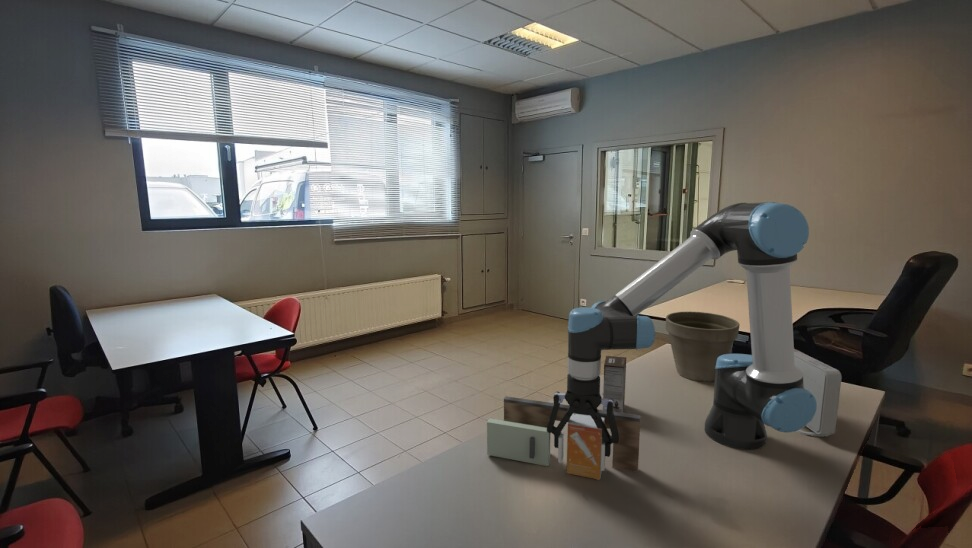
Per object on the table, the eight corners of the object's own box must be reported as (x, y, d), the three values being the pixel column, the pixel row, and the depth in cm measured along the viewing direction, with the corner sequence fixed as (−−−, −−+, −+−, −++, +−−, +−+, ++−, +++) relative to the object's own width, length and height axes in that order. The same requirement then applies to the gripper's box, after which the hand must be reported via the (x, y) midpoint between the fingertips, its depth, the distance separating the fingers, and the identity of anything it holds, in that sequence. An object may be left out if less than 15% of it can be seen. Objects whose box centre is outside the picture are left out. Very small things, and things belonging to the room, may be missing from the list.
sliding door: (550, 461, 112) (550, 428, 110) (547, 469, 109) (547, 434, 107) (489, 450, 117) (489, 418, 116) (485, 457, 114) (485, 424, 113)
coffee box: (604, 401, 147) (605, 354, 144) (624, 404, 145) (626, 356, 142) (602, 414, 138) (603, 364, 136) (623, 417, 136) (625, 366, 134)
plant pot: (731, 393, 152) (736, 332, 149) (656, 379, 166) (659, 322, 162) (737, 370, 173) (742, 316, 170) (670, 359, 186) (673, 308, 183)
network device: (757, 401, 146) (762, 342, 143) (784, 401, 146) (790, 342, 143) (811, 442, 121) (818, 372, 118) (844, 442, 121) (852, 372, 117)
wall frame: (638, 468, 110) (640, 415, 108) (637, 472, 108) (640, 418, 106) (505, 444, 121) (505, 396, 119) (503, 447, 119) (503, 399, 117)
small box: (566, 474, 108) (566, 423, 106) (570, 460, 113) (571, 411, 111) (600, 480, 105) (602, 428, 103) (603, 466, 111) (605, 416, 109)
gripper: (633, 374, 104) (630, 463, 107) (540, 363, 111) (540, 447, 114) (632, 386, 97) (628, 481, 100) (533, 374, 104) (533, 463, 107)
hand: (581, 463), depth 107 cm, fingers open, 9 cm apart
